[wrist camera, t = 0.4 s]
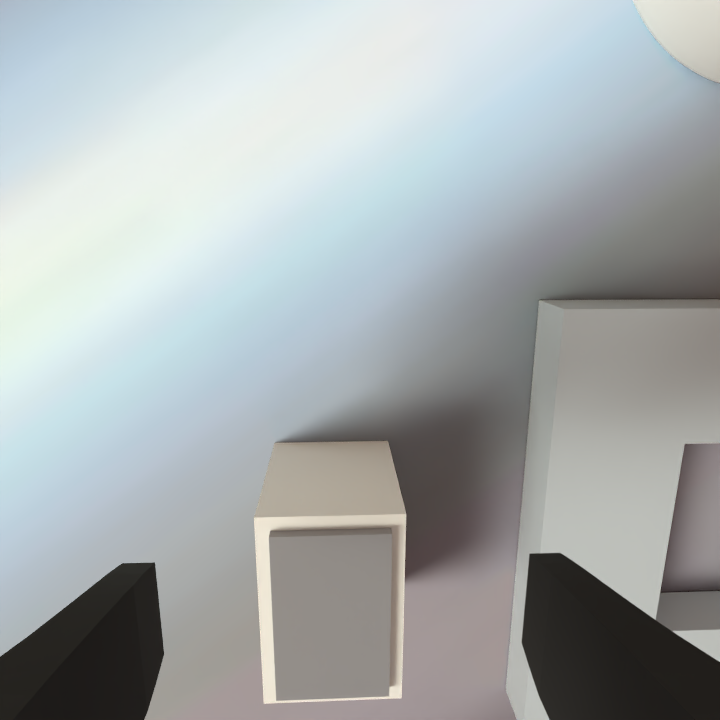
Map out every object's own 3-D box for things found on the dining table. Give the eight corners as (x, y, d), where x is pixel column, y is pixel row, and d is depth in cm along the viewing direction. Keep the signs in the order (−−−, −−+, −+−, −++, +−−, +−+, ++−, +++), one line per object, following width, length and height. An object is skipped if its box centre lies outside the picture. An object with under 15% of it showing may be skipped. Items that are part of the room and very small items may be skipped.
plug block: (385, 586, 20) (402, 707, 15) (280, 588, 20) (262, 712, 15) (388, 440, 19) (407, 520, 14) (274, 442, 19) (252, 523, 14)
